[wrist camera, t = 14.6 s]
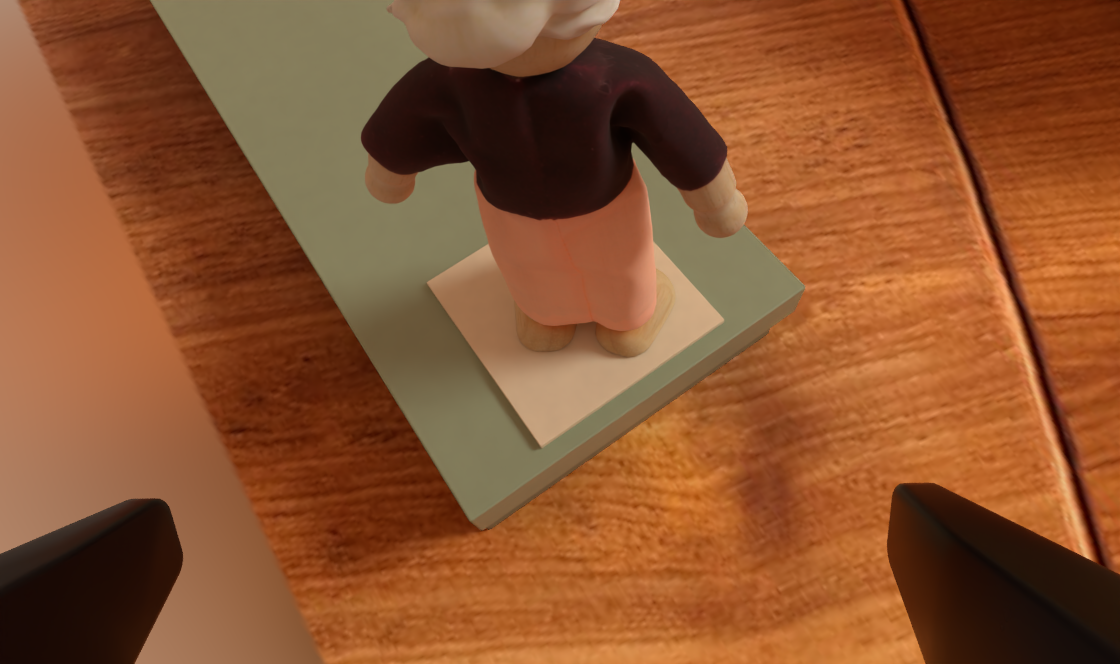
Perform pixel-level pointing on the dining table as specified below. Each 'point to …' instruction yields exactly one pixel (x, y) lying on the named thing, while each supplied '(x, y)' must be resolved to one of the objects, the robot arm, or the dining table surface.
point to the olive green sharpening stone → (455, 257)
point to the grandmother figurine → (553, 157)
